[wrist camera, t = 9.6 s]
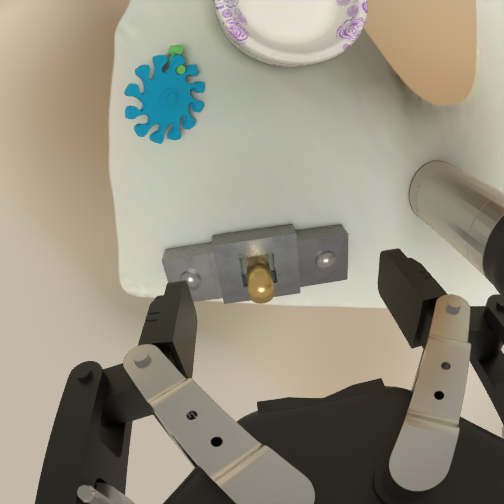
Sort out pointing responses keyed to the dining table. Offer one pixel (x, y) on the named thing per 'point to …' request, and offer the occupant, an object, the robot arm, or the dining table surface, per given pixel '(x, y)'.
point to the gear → (165, 96)
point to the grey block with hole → (254, 244)
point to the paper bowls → (292, 28)
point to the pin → (259, 279)
